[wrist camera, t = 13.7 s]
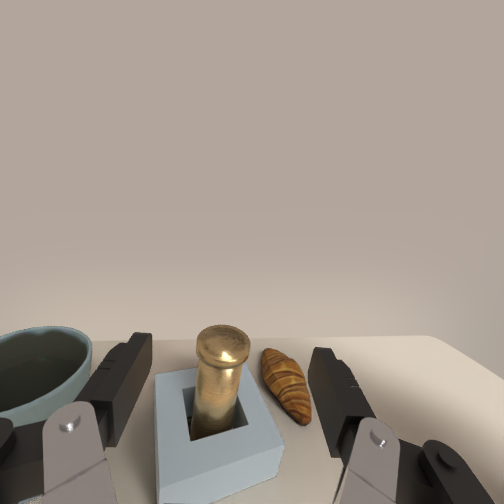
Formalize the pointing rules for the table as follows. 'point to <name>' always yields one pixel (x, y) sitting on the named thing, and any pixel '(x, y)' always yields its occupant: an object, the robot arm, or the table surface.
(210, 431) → the brass flanged cylinder
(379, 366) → the table surface
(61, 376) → the teal plant pot
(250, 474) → the frame
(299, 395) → the croissant
